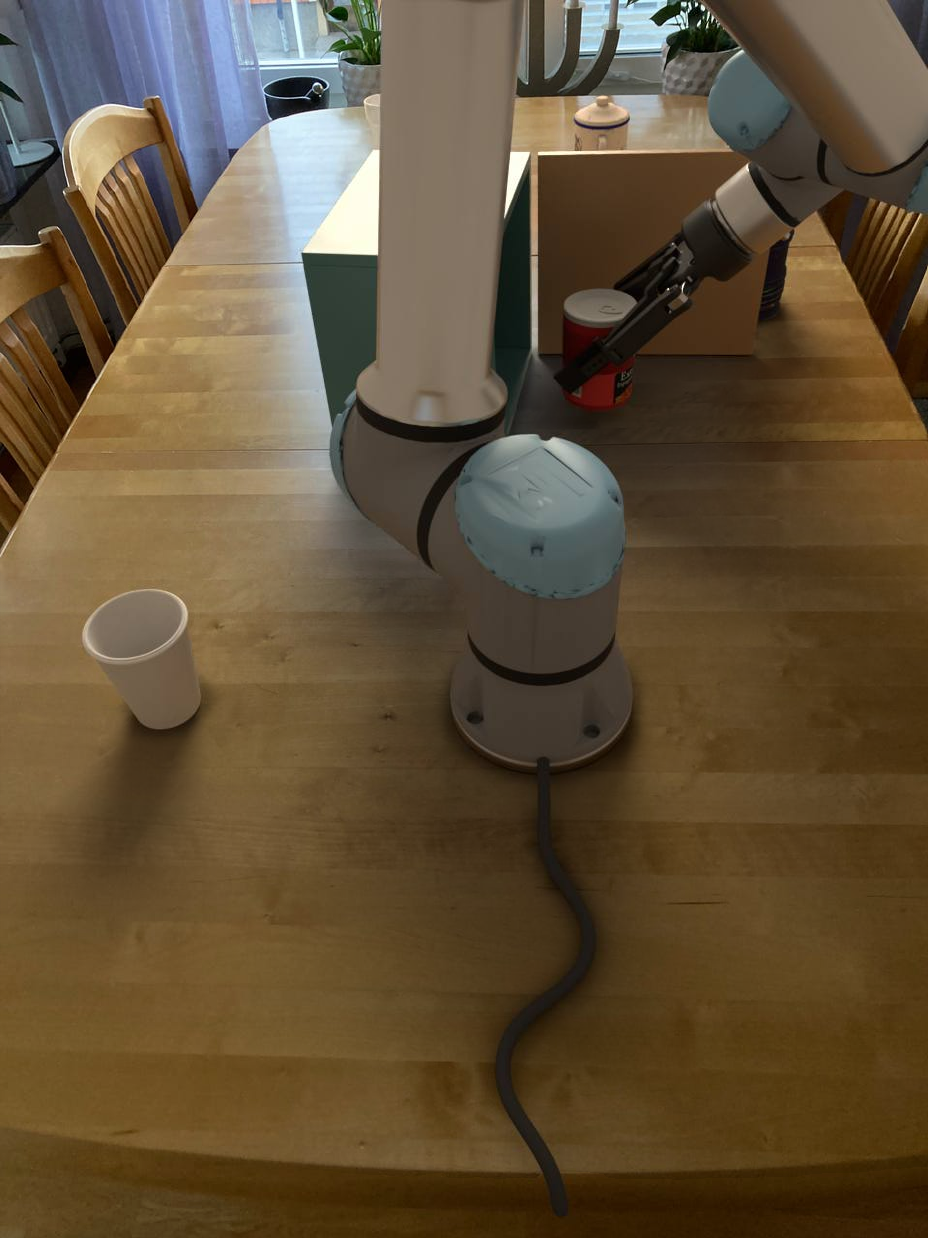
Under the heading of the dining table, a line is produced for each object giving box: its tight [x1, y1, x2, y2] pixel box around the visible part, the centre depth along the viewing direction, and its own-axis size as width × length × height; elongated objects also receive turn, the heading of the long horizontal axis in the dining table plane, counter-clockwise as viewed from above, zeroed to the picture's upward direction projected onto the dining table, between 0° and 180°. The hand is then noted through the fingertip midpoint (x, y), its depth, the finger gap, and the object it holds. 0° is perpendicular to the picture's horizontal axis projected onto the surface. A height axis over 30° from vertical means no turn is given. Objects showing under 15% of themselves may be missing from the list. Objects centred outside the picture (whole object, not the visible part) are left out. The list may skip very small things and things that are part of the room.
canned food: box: [561, 289, 637, 412], centre depth 107 cm, size 8×8×11 cm
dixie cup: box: [81, 588, 202, 730], centre depth 81 cm, size 8×8×10 cm
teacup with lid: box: [573, 95, 631, 151], centre depth 159 cm, size 12×9×12 cm
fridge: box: [300, 149, 533, 437], centre depth 107 cm, size 18×26×24 cm
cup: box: [363, 93, 380, 150], centre depth 167 cm, size 7×7×11 cm
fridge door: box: [537, 147, 770, 356], centre depth 115 cm, size 7×26×24 cm, turn 84°
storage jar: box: [757, 228, 795, 323], centre depth 123 cm, size 10×10×15 cm
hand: (566, 364), depth 109 cm, fingers closed on canned food, 8 cm apart
